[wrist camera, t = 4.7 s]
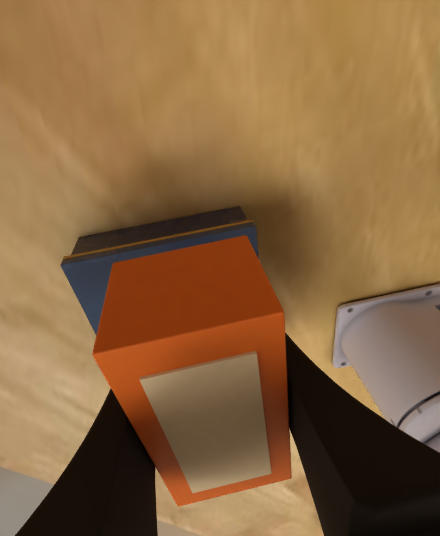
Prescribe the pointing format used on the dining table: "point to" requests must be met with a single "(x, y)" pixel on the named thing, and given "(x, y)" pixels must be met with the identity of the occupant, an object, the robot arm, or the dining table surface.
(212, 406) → the snack box
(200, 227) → the biscuit tin
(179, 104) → the dining table surface
